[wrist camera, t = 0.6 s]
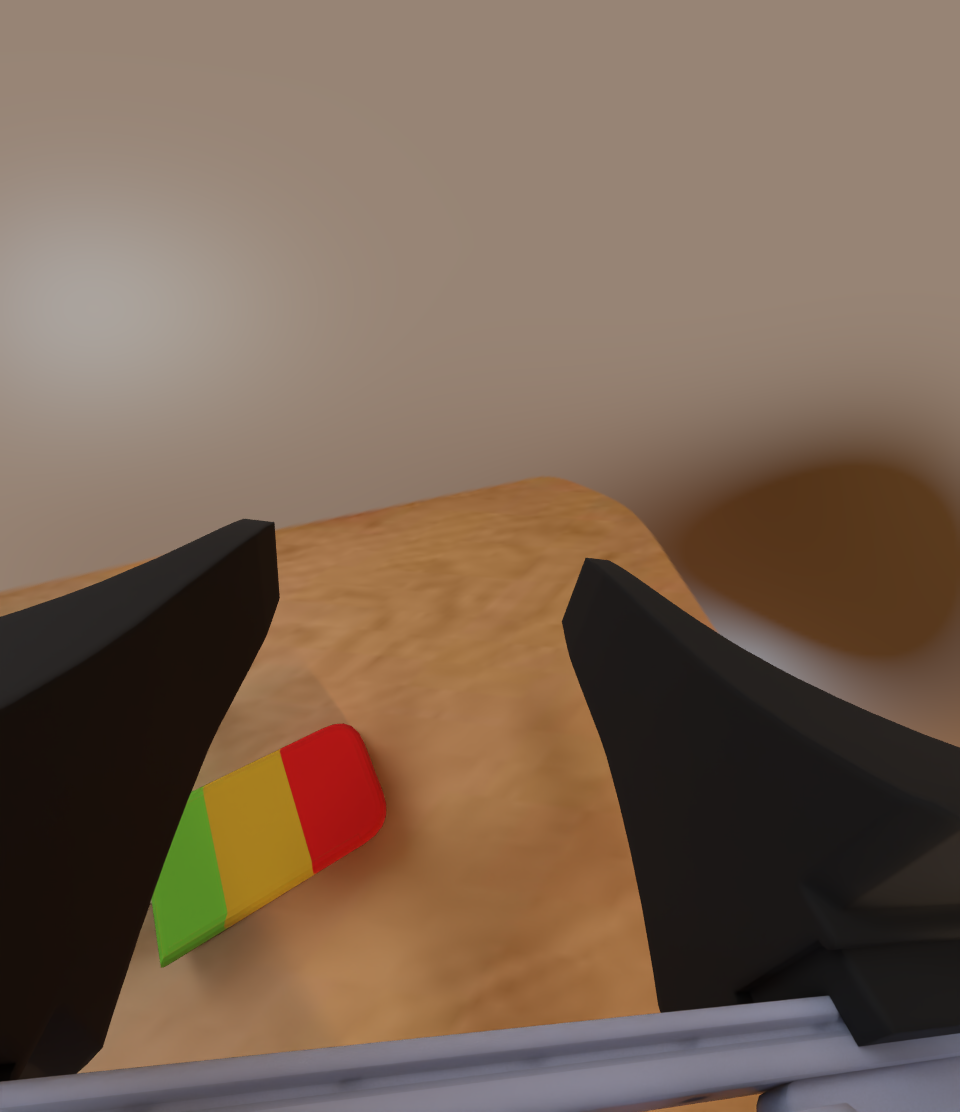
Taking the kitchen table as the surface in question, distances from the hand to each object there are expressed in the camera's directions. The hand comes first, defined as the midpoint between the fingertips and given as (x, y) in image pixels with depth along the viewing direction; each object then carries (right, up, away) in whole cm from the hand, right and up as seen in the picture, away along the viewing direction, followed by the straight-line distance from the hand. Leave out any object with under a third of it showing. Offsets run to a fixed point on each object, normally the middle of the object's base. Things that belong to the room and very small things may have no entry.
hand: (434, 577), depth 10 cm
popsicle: (-11, -13, +9) cm, 19 cm away
